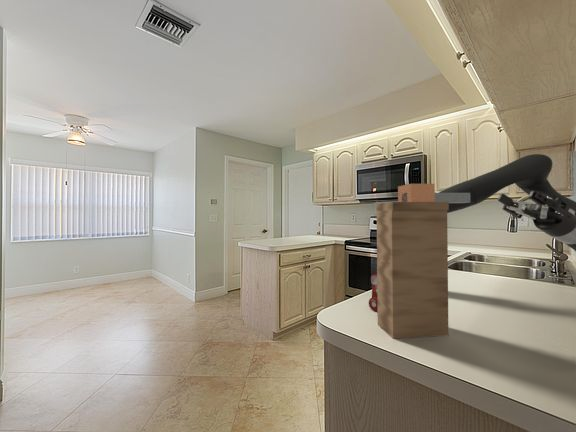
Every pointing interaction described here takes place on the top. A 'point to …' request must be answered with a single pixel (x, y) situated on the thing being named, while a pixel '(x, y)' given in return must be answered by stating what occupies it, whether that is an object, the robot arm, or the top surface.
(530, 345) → the top surface
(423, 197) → the orange and gray block
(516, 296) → the top surface
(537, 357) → the top surface
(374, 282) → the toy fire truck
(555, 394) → the top surface
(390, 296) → the walnut pedestal
